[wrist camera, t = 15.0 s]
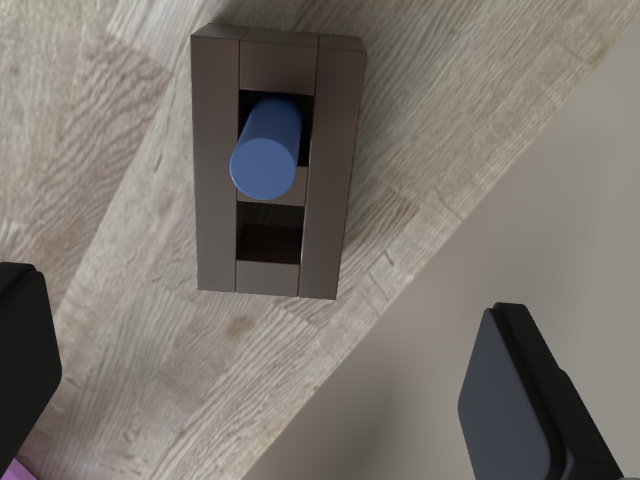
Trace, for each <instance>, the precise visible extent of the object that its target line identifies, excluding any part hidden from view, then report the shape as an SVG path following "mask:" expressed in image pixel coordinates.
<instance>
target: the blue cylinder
mask: <svg viewBox="0 0 640 480" xmlns="http://www.w3.org/2000/svg"><path fill="white" fill-rule="evenodd" d="M303 111H304V104H303V99H302V97H301V95H300V94H289V93H278V92H267V91H261V92H260V93H259V95H258V97H257V99H256V102H255V104H254V106H253V109H252V111H251V113H250V115H249V118H248V120H247V122H246V125H245V127H244V129H243V131H242V134H241V136H240V138H239V140H238V143H237V145H236V147H235V150H234V152H233V154H232V157H231V160H230V173H231V177H232V179H233V181H234V183H235V185H236V186H237V187H238V188H239V189H240V190H241V191H242V192H243V193H245V194H246V195H248V196H250V197H252V198H256V199H261V200H268V199H274V198H277V197H279V196H281V195H283V194H284V193H286V192H287V191H288V190H289V189H290V187H291V186H292V184H293V182H294V180H295V177H296V170H297V162H298V153H299V145H300V136H301V128H302V119H303Z"/></svg>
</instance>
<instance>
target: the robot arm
mask: <svg viewBox="0 0 640 480" xmlns="http://www.w3.org/2000/svg"><path fill="white" fill-rule="evenodd" d="M61 377H62V365H61V360H60V355H59V350H58V345H57V340H56V335H55V329H54V324H53V319H52V314H51V309H50V304H49V298H48V293H47V288H46V283H45V278H44V275H43V274H42V272H39V271H36V268H35V267H34V265H32V264H25V263H13V262H1V263H0V480H1V478H2V477H3V475H4V474H5V472H6V470H7V469H8V467H9V465H10V464H11V462H12V461H13V459H14V457H15V456H16V454H17V453H18V451H19V449H20V448H21V446H22V444H23V443H24V441H25V440H26V438H27V436H28V435H29V433H30V431H31V430H32V428H33V427H34V425H35V423H36V422H37V420H38V418H39V417H40V415H41V414H42V412H43V410H44V409H45V407H46V405H47V404H48V402H49V401H50V399H51V397H52V396H53V394H54V393H55V391H56V389H57V388H58V386H59V384H60V381H61ZM458 415H459V419H460V423H461V427H462V430H463V434H464V438H465V442H466V445H467V449H468V452H469V456H470V460H471V463H472V467H473V471H474V475H475V478H476V480H640V479H639V478H624V476H623V474H622V472H621V470H620V468H619V467H618V465H617V463H616V461H615V459H614V458H613V456H612V454H611V452H610V450H609V449H608V447H607V445H606V443H605V441H604V440H603V438H602V436H601V434H600V432H599V430H598V429H597V427H596V425H595V424H594V422H593V420H592V418H591V416H590V414H589V412H588V410H587V409H586V407H585V405H584V404H583V401H582V400H581V398H580V396H579V394H578V392H577V390H576V389H575V387H574V385H573V383H572V382H571V380H570V378H569V377H568V375H567V374H566V372H565V371H563V370H562V369H560V368H559V366H558V365H557V363H556V361H555V359H554V357H553V355H552V353H551V352H550V350H549V348H548V346H547V344H546V343H545V341H544V339H543V337H542V335H541V333H540V331H539V329H538V328H537V326H536V324H535V322H534V320H533V318H532V316H531V315H530V313H529V311H528V309H527V307H526V306H525V305H523V304H513V303H501V302H497V303H495V304H494V306H493V308H492V309H491V308H487V309H486V310H485V311H484V314H483V317H482V320H481V324H480V328H479V331H478V334H477V338H476V341H475V344H474V348H473V351H472V355H471V358H470V362H469V365H468V369H467V372H466V376H465V379H464V383H463V386H462V389H461V393H460V396H459V400H458Z"/></svg>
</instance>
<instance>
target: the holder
mask: <svg viewBox="0 0 640 480" xmlns="http://www.w3.org/2000/svg"><path fill="white" fill-rule="evenodd" d="M190 43H191V82H192V121H193V160H194V200H195V239H196V278H197V290H208V291H221V292H234V293H235V292H237V293H249V294H262V295H275V296H288V297H297V296H298V297H303V298H316V299H329V300H336V295H337V287H338V279H339V271H340V264H341V256H342V248H343V240H344V232H345V224H346V216H347V208H348V200H349V192H350V184H351V176H352V168H353V160H354V152H355V144H356V136H357V128H358V120H359V112H360V104H361V96H362V88H363V80H364V72H365V64H366V56H367V52H366V50H365V47H364V45H363V42H362V40H361V38H360V37H350V36H340V35H329V34H318V33H308V32H298V31H287V30H277V29H266V28H256V27H252V28H251V27H246V26H235V25H225V24H214V23H208V24H207V25H205V26H204V27H202V28H201V29H199V30H198V31H196V32H195V33H193V34H192V35H191V36H190ZM250 90H255V91H267V92H278V93H289V94H300V95H311V96H313V95H314V100H313V112H312V124H311V136H310V140H308V139H300V145H299V153H298V162H297V170H296V177H295V180H294V182H293V184H292V186H291V187H290V189H289V190H288V191H287V192H286V193H284V194H283V195H281V196H279V197H277V198H274V199H268V200H261V199H256V198H252V197H250V196H248V195H246V194H245V193H243V192H242V191H241V190H240V189H239V188H238V187H237V186H236V185H235V183H234V181H233V179H232V177H231V173H230V160H231V157H232V154H233V152H234V150H235V147H236V145H237V143H238V140H239V138H240V136H241V134H242V131H243V129H244V127H245V125H246V122H247V120H248V118H249V91H250ZM247 202H257V203H269V204H281V205H293V206H305V209H304V221H303V229H302V228H291V227H278V226H266V225H254V224H246V208H247Z"/></svg>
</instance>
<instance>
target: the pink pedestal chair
mask: <svg viewBox="0 0 640 480" xmlns="http://www.w3.org/2000/svg"><path fill="white" fill-rule="evenodd" d="M1 480H37V479H36V478H35V477H34V476H33V475H32V474H31V473H29V472H28V471H27V470H26V469H25V468H24V467H23V466H22V465H21V464H20V463H19V462H18V461H17V460H16V459H15V458H14V459H13V461H12V462H11V464H10V465H9V467H8V469H7V470H6V472H5V474H4V475H3V477H2V478H1Z"/></svg>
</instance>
